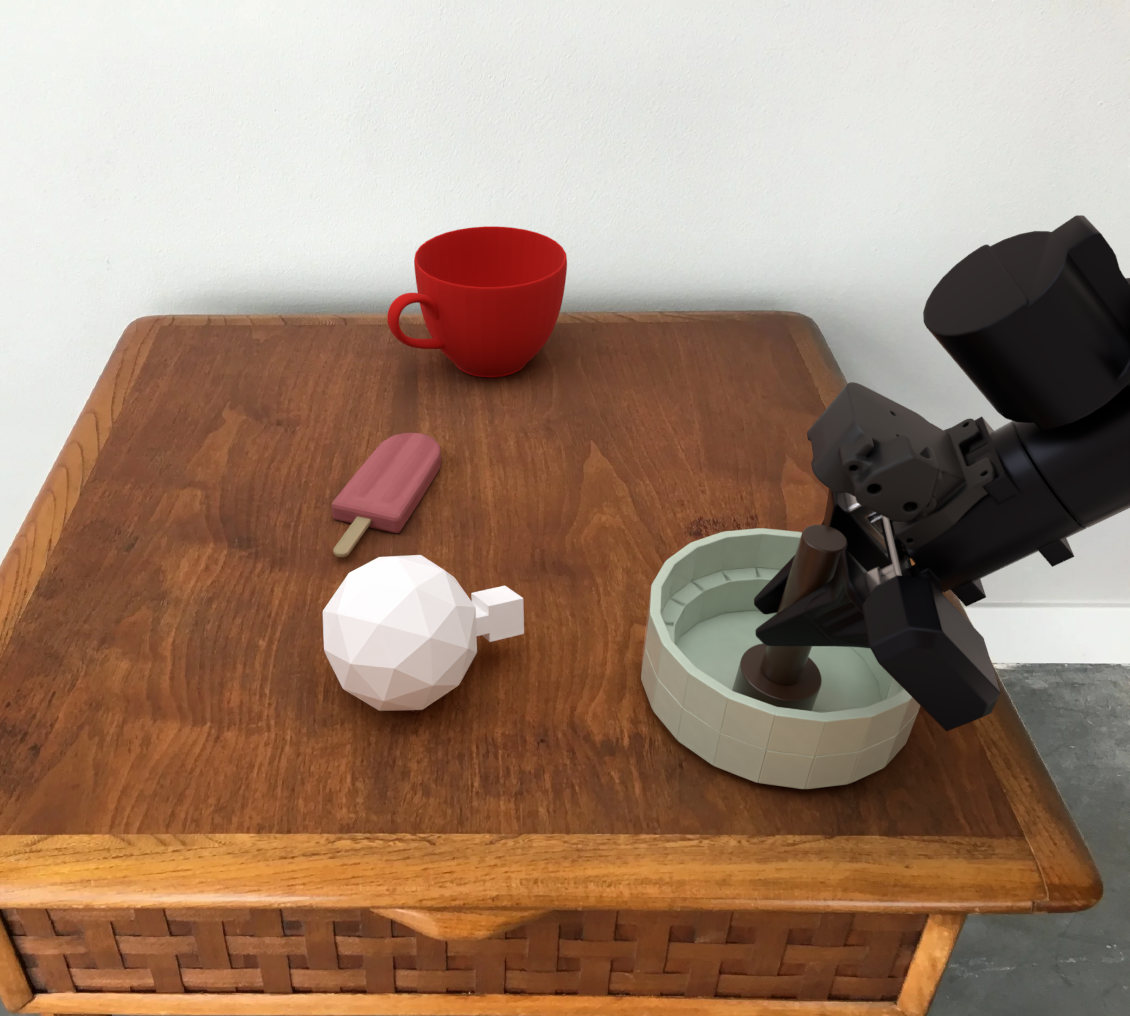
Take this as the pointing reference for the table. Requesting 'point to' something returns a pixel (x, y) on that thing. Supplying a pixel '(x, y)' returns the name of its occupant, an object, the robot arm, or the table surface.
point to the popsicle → (386, 487)
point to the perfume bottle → (410, 630)
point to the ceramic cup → (486, 297)
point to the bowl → (712, 657)
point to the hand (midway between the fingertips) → (759, 622)
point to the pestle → (789, 669)
